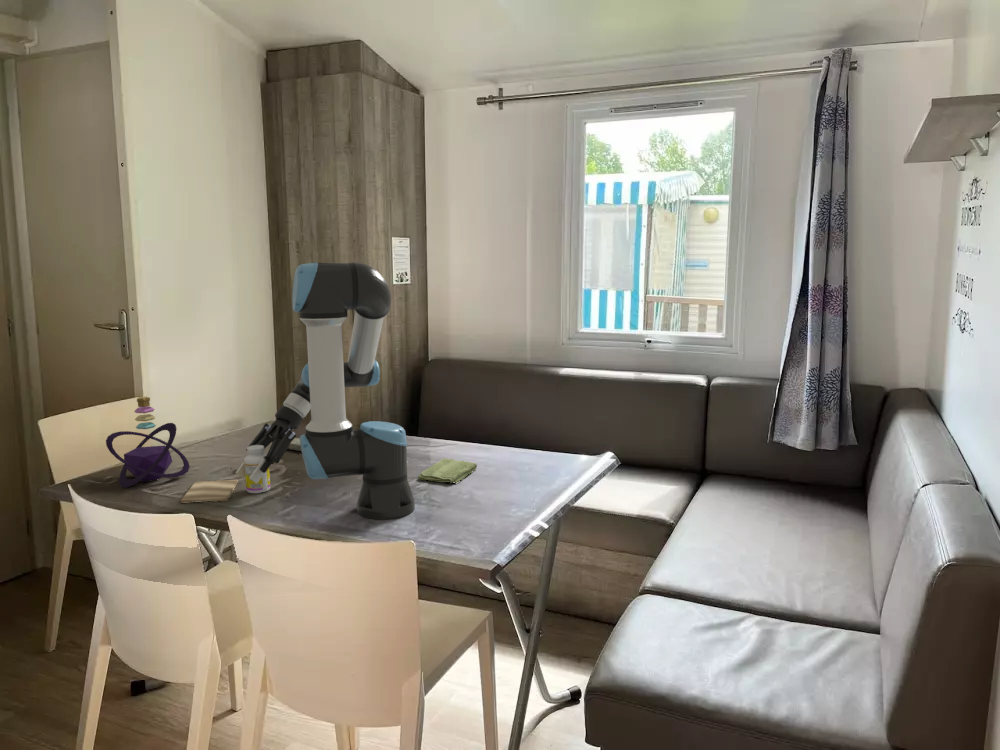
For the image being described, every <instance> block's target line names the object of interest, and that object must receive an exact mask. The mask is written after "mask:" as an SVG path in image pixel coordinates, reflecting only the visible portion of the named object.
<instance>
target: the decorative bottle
mask: <svg viewBox="0 0 1000 750" xmlns="http://www.w3.org/2000/svg"><path fill="white" fill-rule="evenodd" d="M136 402H137V408H136V409H135V410H134V414H135V413H136V414H139V415H138V416H137V417H136V418H135V419H134V421H136V422H140V423H139V424H137V425H136V426H135V429H137V430H149V429H153V428H155V427H156V426H157V424H155V423H153V422H151V421H152V420H155V419H156V417H155V416H154V415H152V414H149V413H152V412H154V411H155V408H153V407H152V406H150V404H151V403H150V402H151V397H149V396H139V397H137V398H136ZM163 431H168V433H169V437H168V441H167V442H166V441H165V440H162V439H161V438H157V437H156V436H155V435H157V434H158V433H161V432H163ZM124 435H125V436H126V435H128V436H129V435H131V436H132V435H133V436H139V437H140V436H141V437H144V438H143V440H142V441H141V442H139V444H138V445H137V446H136V447H135V448H134V449H131V450H130V451H128V452H125V453H124V454H123V458H122V457H121V456H120V454H118V453H117V452H116V450H115V449H114V446H113V441H114V439H116V438H118V437H120V436H121V437H122V436H124ZM176 435H177V425H176V424H175V423H174V422H167V423H165V424H162V425H161V426H159V427H157V428H156V429H154V430H153V431H152V432H150V433H149V434H145V433H142V432H138V431H136V432H135V431H129V430H128V431H127V430H126V431H120V430H119V431H116V432H112V433H111V434H110V435H108V436H107V437H106V440H105V445H106V447H107V450H108V451H109V453H111V455H112V456H113V457H114V458H115V459H116V460H118V461H119V462H121V463H123V464H124V465H123V466H122V468H121V471H120V472H119V473H120V474H119V477H118V484H119V486H120V487H121V488H125V489H126V488H130V487H131V486H133V487H134V485H136V484H138V483H139V482H143V483H145V482H144V481H147V482H151V481H150V480H155V481H158V480H157V479H159V480H160V479H161V478H178V477H182V476H185V475H186V474H187V473H188V472H189V470H190V463H189V460H188V459H187V457H186V456H185V455H184V453H182V452H181V451H180V450H179V449H178V448H176V447H175V446H173V442H174V440H175V437H176ZM150 439H151V440H154V441H156V442H159V443H160V444H162V445H153V446H144V445H145V444H146V443H147V442H148V441H149V440H150ZM170 449H171V450H173V451H174V452H175V453H176V454H177V455H178V456H179V458H180V459H181V460H182V463H183V467H182V468H181V470H179V471H177V472H174V473H166V471H167V470H168V469H169V467H170V465H171V464H172V463H173V458H172V455H171V451H170ZM127 471H129V473H131V474H132V475H133V476H134V478H127Z"/></svg>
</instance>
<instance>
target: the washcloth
mask: <svg viewBox="0 0 1000 750" xmlns="http://www.w3.org/2000/svg"><path fill="white" fill-rule="evenodd" d="M477 467H478V464H477V463H476V462H472V461H471V462H470V461H464V460H461V461H460V460H455V459H453V458H448V457H447V458H445V457H444V458H442V459H441V460H439V461H438V462H436V463H434V464H433V465H431V466H430V467H428V468H426V469H424V470H423V471H421V472H420V474H418V476H417V479H418V480H420V481H426V480H428V481H427V482H433V481H434V482H435V483H445V482H450V483H449V484H452V483H453V482H455V483H457V482H459V481H460V480H462V479H463V478H464V479H466V478H467V477H468V476H467V475H468V474H470V473H471V474H473V473H472V471H474V470H475V469H476V470H477ZM476 470H475V471H476ZM475 471H474V472H475ZM471 474H470V475H471ZM466 476H467V477H466ZM465 477H466V478H465ZM464 479H463V480H464ZM463 480H462V481H463ZM451 482H452V483H451ZM460 482H461V481H460ZM460 482H459V483H460Z"/></svg>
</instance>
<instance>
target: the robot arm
mask: <svg viewBox="0 0 1000 750" xmlns="http://www.w3.org/2000/svg"><path fill="white" fill-rule="evenodd" d="M291 298H292V304H291V305H292V311H293V312H294V313H299V320H300V321H301V322H302V323H303V324H304V325H305V326H306V327H305V328H306V345H307V363H306V364H305V365H304V367H303V368H302V370H301V372H300V373H301V375H300V379H299V381H298V382H297V384H296V385H295V387H294V388H293V389H292V390H291V392H290V393H289V394H288V396H287V397H286V398H285V399H284V401H283V405H281V406H280V407H279V409H277V412H275V414H274V417H275V420H274V421H273V423H271V424H269V423H268V422H266V423H265V424H263V426H262V428H261V429H260V431H259V432H258V434H257V435H256V436H255V437H254V439H252V441H251V443H250V444H249V445H247V447H249V446H253V445H263V446H264V450H265V449H266V448H267V447H268V446H269V445H270V447H269V450H268V452H267V454H266V455H267V456H265V457H264V459H262V461H261V462H260V463H259V465H258V466H257V468H256V469H255V470H254V472H253V473H252V475H251V476H250V478H249V479H251V480H252V481H253V482H255V483H256V484H257V483H258V482H259V480H260V479H261V477H262V476H263V475H264V473H265V472H266V471H267V470H268V468H269V469H270V467H271V465H273V464H274V463H275V464H279V463H280V461H281V460H282V458H283V457H284V455H285V453H286V451H287V450H288V449H287V448H288V446H289V445H290V443H291V442H292V440H293V439H294V438H297V433H295V432H294V431H293V430H297V429H298V428H299V427H300V425H301V424H302V423H303V419H304V418H306V416H307V415H308V414H309V412H310V422H308V424H306V425H305V433H303V434H300V436H299V438H300V444H301V450H302V452H301V455H302V459H303V463H304V466H305V471H306V474H307V476H308V477H309V479H311V480H329V479H336V478H344V477H345V478H346V477H353V476H361V475H362V483H361V486H360V487H361V488H360V489H359V490H360V491H359V494H358V498H357V501H356V512H357V514H358V515H360V516H361V517H363V518H367V519H373V520H390V519H397V518H401V517H404V516H407V515H409V514H411V513H413V512H414V510H415V509H416V504H415V498H414V497H415V496H414V495H413V492H412V490H411V487H410V483H409V481H408V457H407V456H408V455H407V454H408V453H407V447H408V442H407V435H406V430H405V429H404V427H402V426H401V425H399V424H397V423H393V422H387V421H378V420H377V421H374V420H373V421H370V420H369V421H366V422H361V424H360V426H359V429H353V423H351V421H350V420H348V418H347V415H346V414H347V412H346V411H347V410H346V407H347V406H346V390H345V389H346V388H358V387H359V388H361V387H363V388H365V387H371V386H376V385H378V384H379V382H380V378H381V376H380V374H381V373H380V371H381V370H380V366H379V363H378V361H377V360H376V357H377V356H376V355H377V352H378V348H379V344H380V338H381V333H382V328H383V325H384V319H385V318H386V317H387V315H388V314H389V312H390V310H391V305H392V294H391V289H390V287H389V284H388V282H387V281H386V279H385V278H384V276H383V275H382V274H381V273H380V272H379V271H378V270H377V269H375V267H372V266H371V265H368V264H365V263H362V262H358V261H357V262H354V261H353V262H310V263H302V264H299V265H298V266H297V267H296V269H295V273H294V277H293V284H292V297H291ZM352 310H354V312H355V314H354V320H353V325H352V332H351V337H350V338H351V339H350V343H349V350H348V357H347V361H344V349H343V348H344V345H343V343H344V342H343V326H342V325H343V324H344V322H345V321H346V320H347V319H348V317H349V316H348V311H352ZM245 451H246V452H247V448H246V449H245ZM265 459H266V460H265ZM235 474H236V476H239V477H240V478H241V479H244V478H245V466H244V460H243V461H242V463H241V465H240V466H239V467H238V469H237V470H236V471H235Z"/></svg>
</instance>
